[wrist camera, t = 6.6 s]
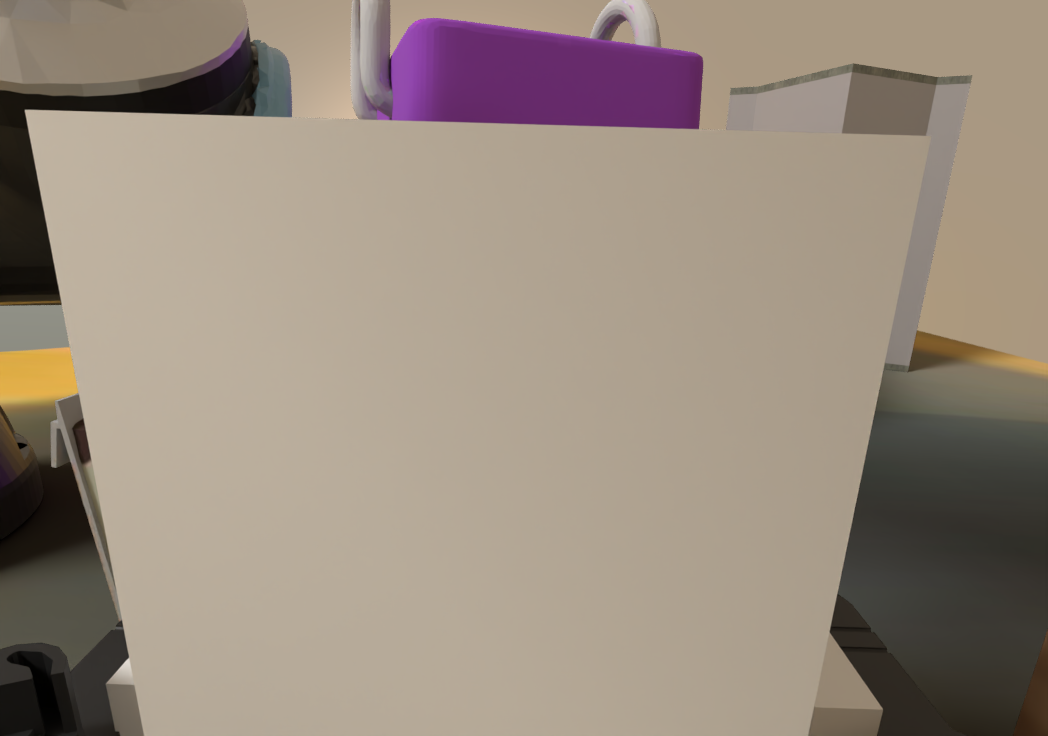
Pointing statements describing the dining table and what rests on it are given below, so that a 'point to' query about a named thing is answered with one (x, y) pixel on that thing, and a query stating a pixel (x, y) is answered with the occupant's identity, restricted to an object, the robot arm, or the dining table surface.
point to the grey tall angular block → (886, 109)
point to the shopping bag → (522, 72)
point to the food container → (81, 474)
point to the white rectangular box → (474, 413)
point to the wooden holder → (1036, 700)
